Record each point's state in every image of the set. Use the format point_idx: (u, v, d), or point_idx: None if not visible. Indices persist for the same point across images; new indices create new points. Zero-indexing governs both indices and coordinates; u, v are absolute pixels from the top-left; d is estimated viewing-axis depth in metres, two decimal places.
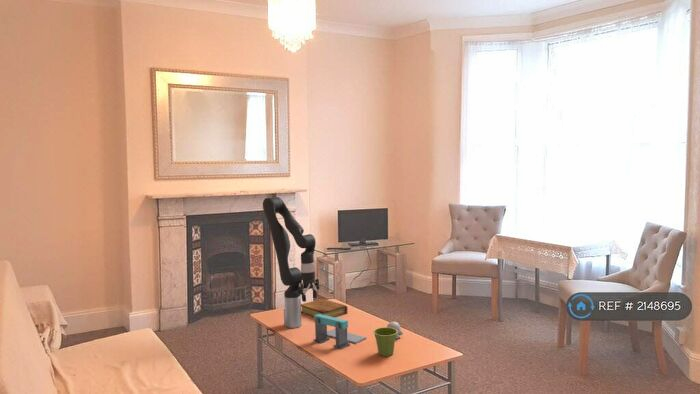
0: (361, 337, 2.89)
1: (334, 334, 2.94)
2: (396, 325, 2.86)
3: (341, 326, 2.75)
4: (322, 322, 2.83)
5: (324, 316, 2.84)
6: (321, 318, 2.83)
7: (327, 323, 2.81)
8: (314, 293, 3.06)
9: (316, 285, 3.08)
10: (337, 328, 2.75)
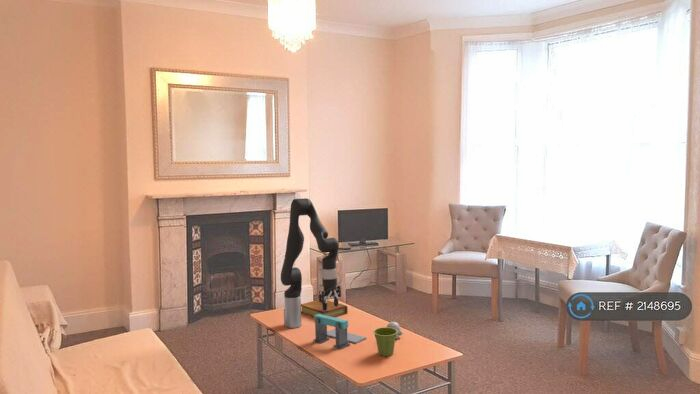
0: (361, 337, 2.89)
1: (334, 334, 2.94)
2: (396, 325, 2.86)
3: (341, 326, 2.75)
4: (322, 322, 2.83)
5: (324, 316, 2.84)
6: (321, 318, 2.83)
7: (327, 323, 2.81)
8: (335, 301, 2.84)
9: (337, 292, 2.86)
10: (337, 328, 2.75)
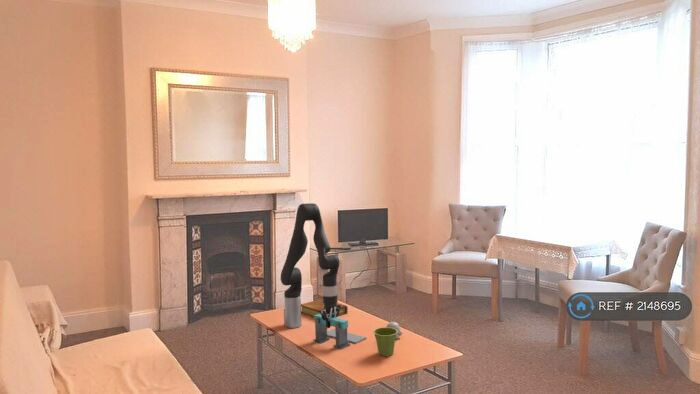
0: (361, 337, 2.89)
1: (334, 334, 2.94)
2: (395, 325, 2.85)
3: (341, 326, 2.75)
4: (322, 322, 2.83)
5: None
6: (321, 318, 2.83)
7: None
8: None
9: None
10: (337, 328, 2.75)
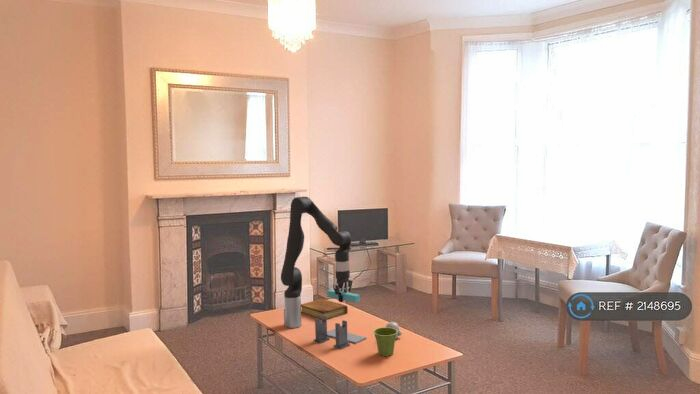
0: (361, 337, 2.89)
1: (334, 334, 2.94)
2: (395, 325, 2.85)
3: (353, 300, 2.83)
4: (335, 297, 2.92)
5: None
6: (334, 293, 2.92)
7: None
8: None
9: None
10: (337, 328, 2.75)
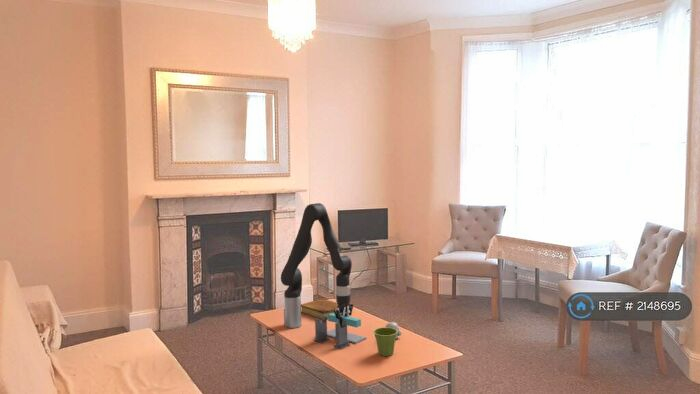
0: (361, 337, 2.89)
1: (334, 334, 2.94)
2: (395, 325, 2.85)
3: (354, 324, 2.84)
4: (336, 321, 2.93)
5: None
6: (335, 317, 2.93)
7: None
8: None
9: None
10: (337, 328, 2.75)
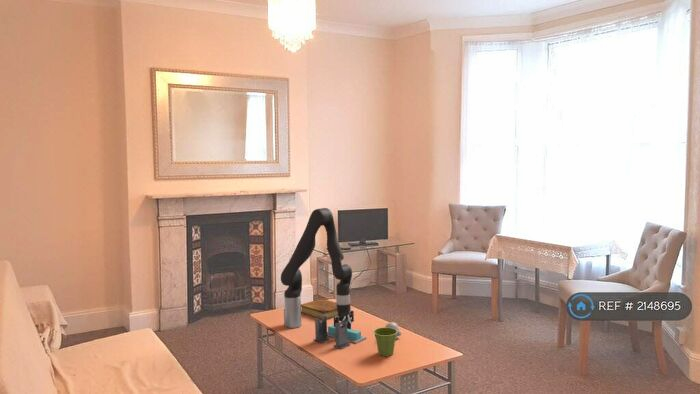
0: (361, 337, 2.89)
1: (334, 334, 2.94)
2: (394, 326, 2.85)
3: (354, 337, 2.85)
4: None
5: None
6: None
7: None
8: (348, 326, 2.94)
9: None
10: (337, 328, 2.75)
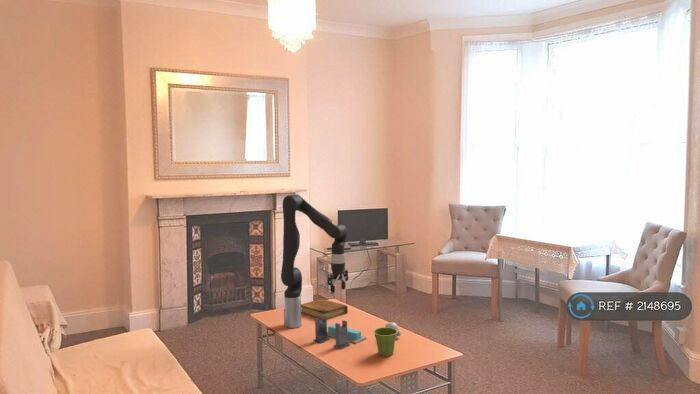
0: (361, 337, 2.89)
1: (334, 334, 2.94)
2: (394, 326, 2.85)
3: (354, 337, 2.85)
4: None
5: None
6: None
7: None
8: (343, 284, 3.00)
9: None
10: (337, 328, 2.75)
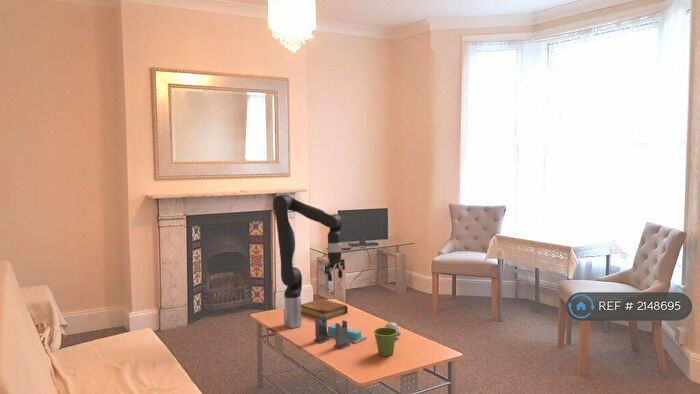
0: (361, 337, 2.89)
1: (334, 334, 2.94)
2: (394, 326, 2.85)
3: (354, 337, 2.85)
4: None
5: None
6: None
7: None
8: (340, 273, 3.06)
9: (341, 265, 3.08)
10: (337, 328, 2.75)
